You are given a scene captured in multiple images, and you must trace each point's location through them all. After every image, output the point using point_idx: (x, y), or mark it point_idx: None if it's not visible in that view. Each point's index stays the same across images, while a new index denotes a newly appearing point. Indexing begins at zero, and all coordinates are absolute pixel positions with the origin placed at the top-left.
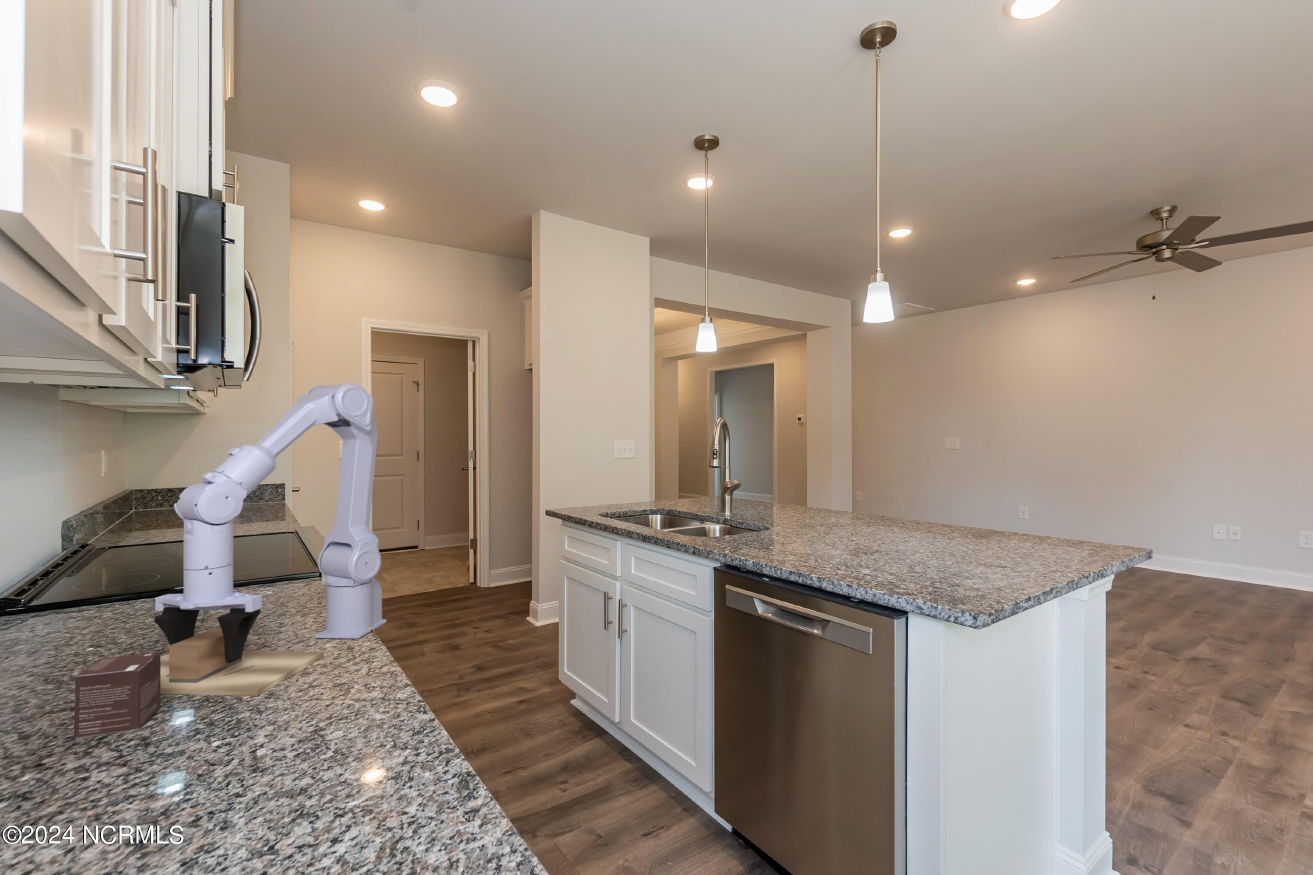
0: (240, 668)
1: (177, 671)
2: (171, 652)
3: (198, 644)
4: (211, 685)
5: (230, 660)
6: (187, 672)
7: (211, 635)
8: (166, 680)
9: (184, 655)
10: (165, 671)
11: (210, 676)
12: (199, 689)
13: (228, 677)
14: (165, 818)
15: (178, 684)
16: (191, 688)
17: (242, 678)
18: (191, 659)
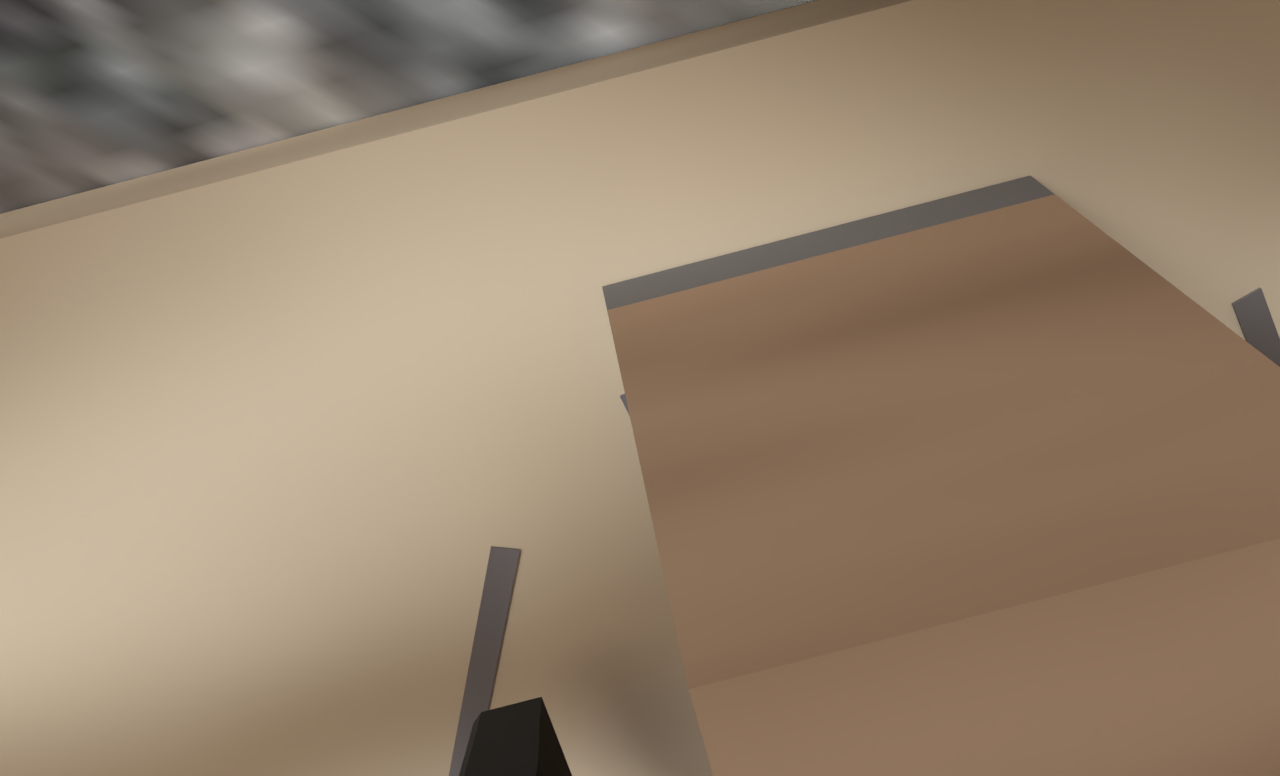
0: None
1: (961, 274)
2: (1276, 418)
3: (784, 756)
4: (287, 292)
5: (470, 739)
6: (779, 313)
7: None
8: (1129, 207)
9: (941, 463)
10: None
11: None
12: (317, 148)
13: (376, 531)
14: None
15: (820, 167)
16: (452, 120)
17: (146, 568)
18: (759, 454)
